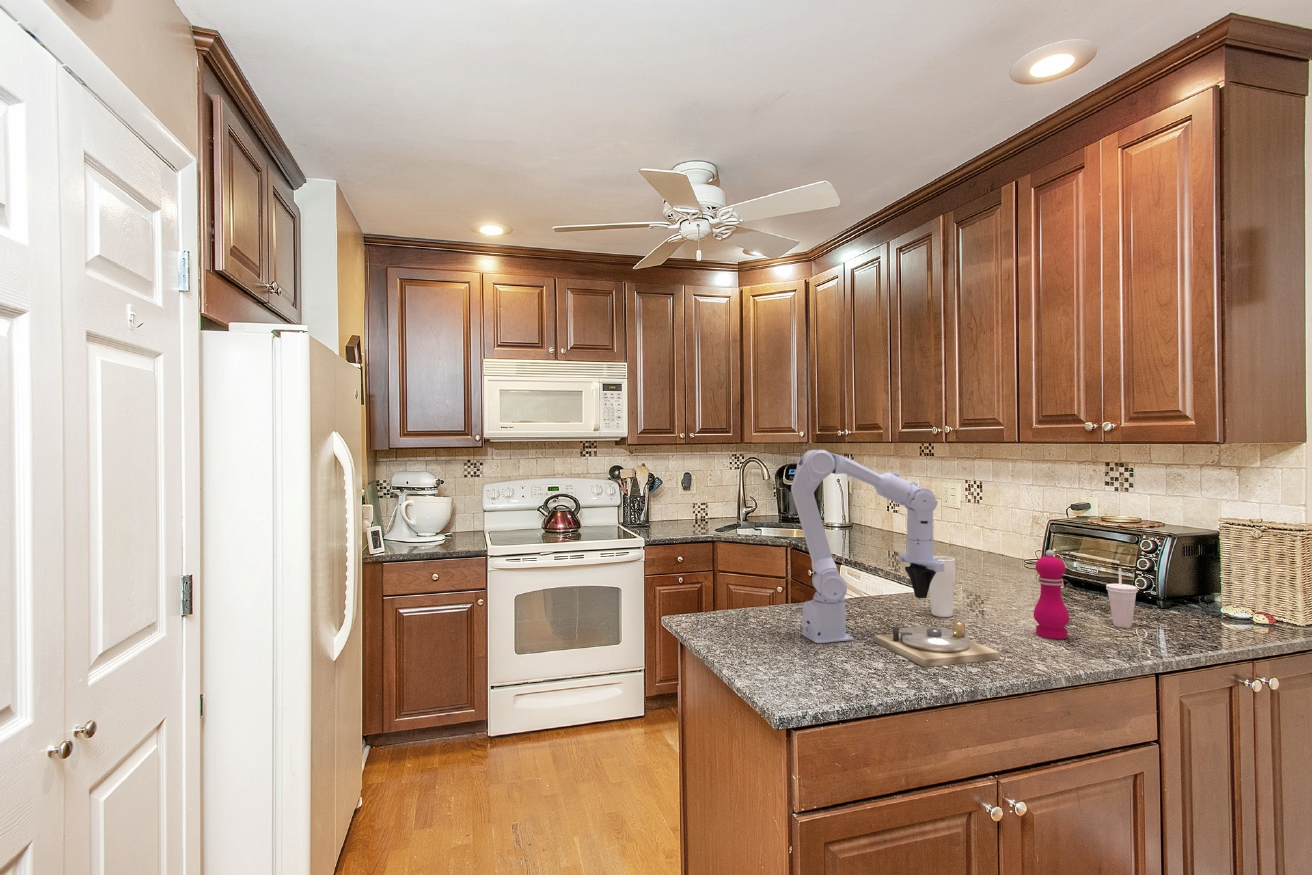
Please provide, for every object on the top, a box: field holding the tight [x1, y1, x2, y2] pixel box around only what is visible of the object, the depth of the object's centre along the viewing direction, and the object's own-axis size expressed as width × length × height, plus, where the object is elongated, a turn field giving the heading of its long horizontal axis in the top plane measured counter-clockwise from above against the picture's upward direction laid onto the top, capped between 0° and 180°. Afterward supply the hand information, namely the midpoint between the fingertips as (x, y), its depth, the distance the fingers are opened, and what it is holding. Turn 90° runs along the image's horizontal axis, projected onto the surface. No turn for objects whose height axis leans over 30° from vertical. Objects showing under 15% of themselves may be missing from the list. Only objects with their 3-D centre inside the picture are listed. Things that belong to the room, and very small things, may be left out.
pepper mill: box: [1033, 549, 1070, 640], centre depth 155 cm, size 7×7×20 cm
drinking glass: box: [928, 555, 956, 618], centre depth 174 cm, size 7×7×15 cm
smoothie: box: [1105, 567, 1139, 629], centre depth 162 cm, size 6×6×14 cm
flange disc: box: [899, 620, 971, 652], centre depth 145 cm, size 14×14×4 cm
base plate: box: [874, 626, 1001, 668], centre depth 145 cm, size 18×18×4 cm
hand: (921, 597), depth 154 cm, fingers closed
